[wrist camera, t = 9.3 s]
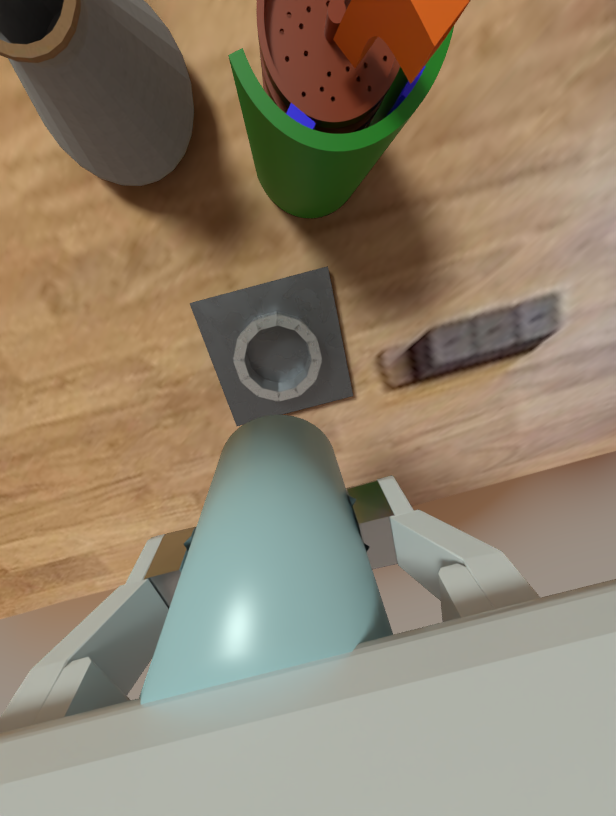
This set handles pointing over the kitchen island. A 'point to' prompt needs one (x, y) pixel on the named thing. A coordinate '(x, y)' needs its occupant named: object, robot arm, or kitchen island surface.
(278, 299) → the motor mount
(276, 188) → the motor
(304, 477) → the capped teal cylinder
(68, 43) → the coffee pot
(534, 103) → the kitchen island surface
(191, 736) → the robot arm
